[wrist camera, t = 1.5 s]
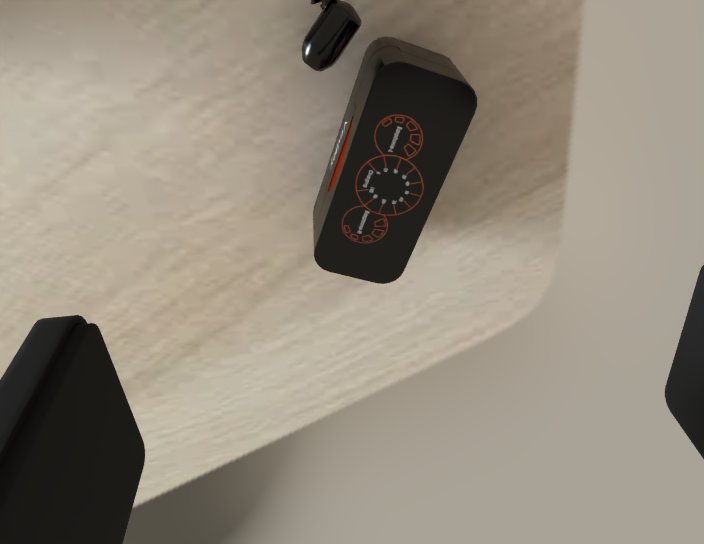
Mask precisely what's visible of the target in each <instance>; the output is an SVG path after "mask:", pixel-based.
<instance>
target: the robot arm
mask: <svg viewBox="0 0 704 544" xmlns="http://www.w3.org/2000/svg"><path fill="white" fill-rule="evenodd" d="M665 398H666V403H667V405H668V408H669V409H670V411H671V413H672V414H673V416H674V417H675V419H676V420H677V421H678V423H679V424H680V426H681V427H682V429H683V430H684V431H685V433H686V434H687V436H688V437H689V439H690V440H691V442H692V443H693V444H694V446H695V447H696V449H697V450H698V452H699V453H700V454H701V456H702V457H703V459H704V265H703V266H702V268H701V270H700V273H699V276H698V279H697V283H696V286H695V289H694V293H693V296H692V300H691V303H690V306H689V310H688V313H687V316H686V320H685V323H684V326H683V330H682V333H681V337H680V340H679V343H678V347H677V350H676V353H675V357H674V360H673V363H672V367H671V370H670V374H669V377H668V380H667V384H666V387H665ZM144 462H145V448H144V443H143V440H142V437H141V434H140V432H139V429H138V427H137V424H136V422H135V419H134V417H133V414H132V411H131V409H130V406H129V404H128V401H127V399H126V396H125V393H124V391H123V388H122V386H121V383H120V381H119V378H118V376H117V373H116V370H115V368H114V365H113V363H112V360H111V358H110V355H109V352H108V350H107V347H106V345H105V342H104V340H103V337H102V335H101V332H100V330H99V328H98V326H97V325H96V324H93V323H90V324H87V322H86V320H85V319H84V318H83V317H82V316H79V315H74V316H64V317H54V318H44V319H40V320H38V321H37V322H36V323H35V324H34V326H33V327H32V329H31V331H30V332H29V334H28V336H27V337H26V339H25V341H24V342H23V344H22V345H21V347H20V349H19V350H18V352H17V354H16V355H15V357H14V359H13V360H12V362H11V363H10V365H9V367H8V368H7V370H6V372H5V373H4V375H3V377H2V378H1V380H0V544H122V543H123V540H124V536H125V532H126V529H127V525H128V521H129V517H130V514H131V510H132V507H133V503H134V499H135V496H136V492H137V488H138V485H139V481H140V478H141V474H142V470H143V467H144Z"/></svg>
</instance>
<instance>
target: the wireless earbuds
mask: <svg viewBox="0 0 704 544" xmlns="http://www.w3.org/2000/svg"><path fill="white" fill-rule="evenodd" d="M319 2H322V4H321V5H320V6H321V8H322V10H323V11H322V12H321V14H320V15H319V17H318V18H317V20H316V21H315V23H314V24H313V26H312V27H311V29H310V30H309V32H308V33H307V35H306V36H305V38H304V41H303V45H302V58H303V61H304V62H305V63H306V64H307V65H309V66H310V67H311V68H312V69H314V70H316V71H324V70H325V69H327V68H330V67H331V66H333V65H334V64H335V63H336V61H337V60H338V59H339V57H340V56H341V54H342V53H343V52H344V50H345V49H346V47H347V46H348V44H349V43H350V41H351V40H352V38H353V37H354V35H355V34H356V32H357V31H358V30H359V28H360V27H361V23H362V22H361V19H360V17H359V15H358V14H357V12H356V10H355V9H354V8H353V7H352V6H351V5H350V4H349V3H346V2H344V1H340V0H311V4H316V3H319ZM476 107H477V97H476V94H475V91H474V90H473V88H472V87H471V86H470V84H469V83H468V82H467V80H466V79H465V78H464V77H463V75H462V74H461V73H460V71H459V70H458V69H457V68H456V66H455V65H454V64H453V62H452V61H451V60H450V59H449V58H448V57H446V56H444V55H442V54H439V53H436V52H433V51H430V50H427V49H424V48H421V47H418V46H415V45H412V44H410V43H407V42H404V41H401V40H398V39H395V38H391V37H381V38H378V39H376V40H374V41H373V42H372V43H371V44H370V45H369V46H368V48H367V50H366V52H365V55H364V58H363V61H362V64H361V67H360V70H359V73H358V76H357V79H356V82H355V85H354V88H353V91H352V94H351V97H350V100H349V103H348V106H347V109H346V112H345V115H344V118H343V121H342V124H341V127H340V130H339V133H338V136H337V139H336V142H335V145H334V149H333V152H332V155H331V158H330V161H329V164H328V167H327V170H326V173H325V176H324V179H323V182H322V185H321V188H320V191H319V194H318V197H317V200H316V203H315V206H314V211H313V228H314V257H315V261H316V262H317V264H318V265H319V266H320V267H321V268H322V269H324V270H327V271H329V272H333V273H337V274H341V275H345V276H350V277H354V278H358V279H362V280H366V281H370V282H374V283H381V284H385V283H390V282H392V281H395V280H396V279H398V278H399V277H400V276H401V274H402V273H403V271H404V269H405V267H406V265H407V263H408V260H409V258H410V256H411V254H412V252H413V249H414V247H415V245H416V243H417V240H418V238H419V236H420V234H421V231H422V229H423V227H424V225H425V223H426V220H427V218H428V216H429V214H430V211H431V209H432V207H433V205H434V203H435V200H436V198H437V196H438V194H439V191H440V189H441V187H442V185H443V183H444V180H445V178H446V176H447V174H448V171H449V169H450V167H451V165H452V163H453V160H454V158H455V156H456V154H457V151H458V149H459V147H460V145H461V143H462V140H463V138H464V136H465V134H466V131H467V129H468V127H469V125H470V122H471V120H472V118H473V116H474V114H475V111H476Z"/></svg>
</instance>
